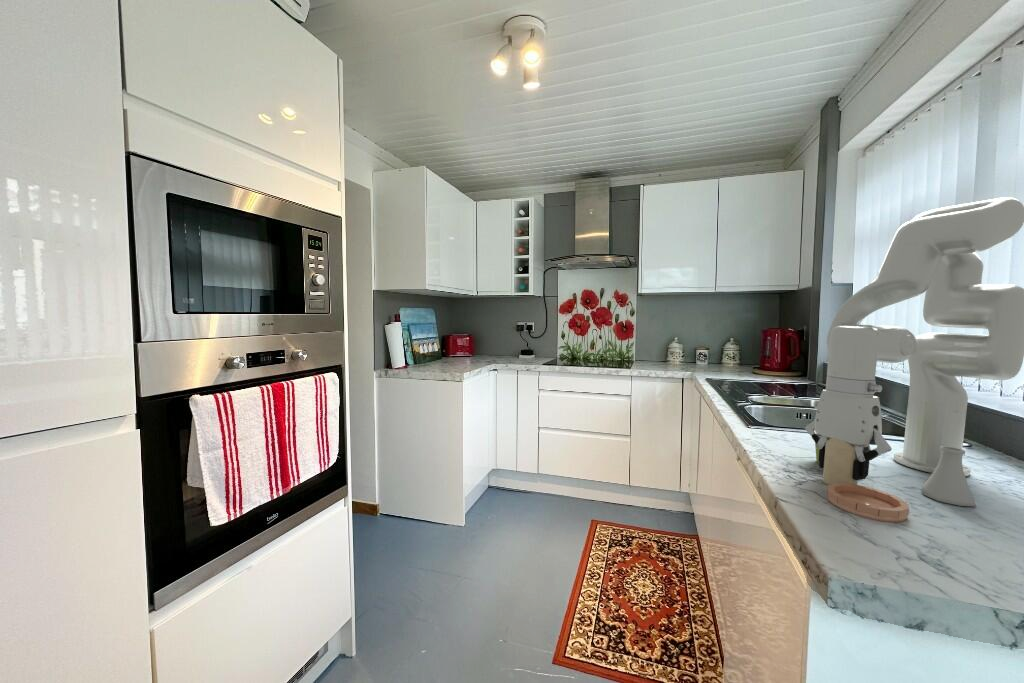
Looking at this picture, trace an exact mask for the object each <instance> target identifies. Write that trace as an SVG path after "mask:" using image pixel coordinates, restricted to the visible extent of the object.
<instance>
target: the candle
mask: <svg viewBox="0 0 1024 683" xmlns="http://www.w3.org/2000/svg"><path fill="white" fill-rule="evenodd" d="M854 460H857V454H856V451H855V447H854V445H852V444H849V443H847V442H844V441H841V440H838V439H836V438H831V439H828V440H827V441H826V446H825V458H824V468H823V469H822V470H823V472H822V481H823V483H824V484H826V485H827V486H828V485H829V484H835V483H845V484H856V485H858V481H859V480H854V479H853V478H852V477H853V466H854Z"/></svg>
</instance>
